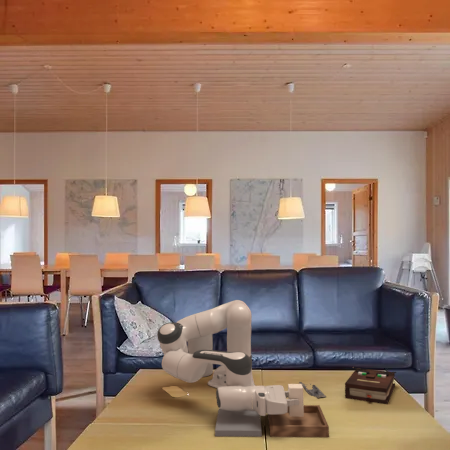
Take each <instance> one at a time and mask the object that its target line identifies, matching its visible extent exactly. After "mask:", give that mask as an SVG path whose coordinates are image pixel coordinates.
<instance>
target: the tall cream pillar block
mask: <svg viewBox="0 0 450 450" xmlns="http://www.w3.org/2000/svg"><path fill="white" fill-rule="evenodd" d="M287 391H288V398H287V399H289V400H291V399H294V398H296V399H299V405H293V406H288V411H289V416H297V417H304V404H305V403H304V388H303V386H302V384H300V383H287Z"/></svg>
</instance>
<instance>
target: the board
mask: <svg viewBox="0 0 450 450" xmlns="http://www.w3.org/2000/svg"><path fill="white" fill-rule="evenodd" d="M215 423H216V424H215V430H214V437H248V438H249V437H255V438H257V437H259V438H260V437H262V435H263V434H262V420H261V415H259V414H258V413H257V412H256V411H249V410H243V411H227V410H222V409H219V408H218V411H217V416H216V422H215Z"/></svg>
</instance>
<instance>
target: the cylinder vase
mask: <svg viewBox="0 0 450 450" xmlns="http://www.w3.org/2000/svg"><path fill="white" fill-rule="evenodd" d="M213 342H214V341H213V334H211V335H207V336H204V337H201V338H197V339H192V340H189V341H187V347H188V350H189V354H194V352H196V351H198V350H213V348H214V347H213ZM213 373H214V364H211V363H208V365H207V368H206V371H205V373H204V375H203V376H202V377H201V378H203V377H204V378H205V377H209V376H211V375H213Z"/></svg>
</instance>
